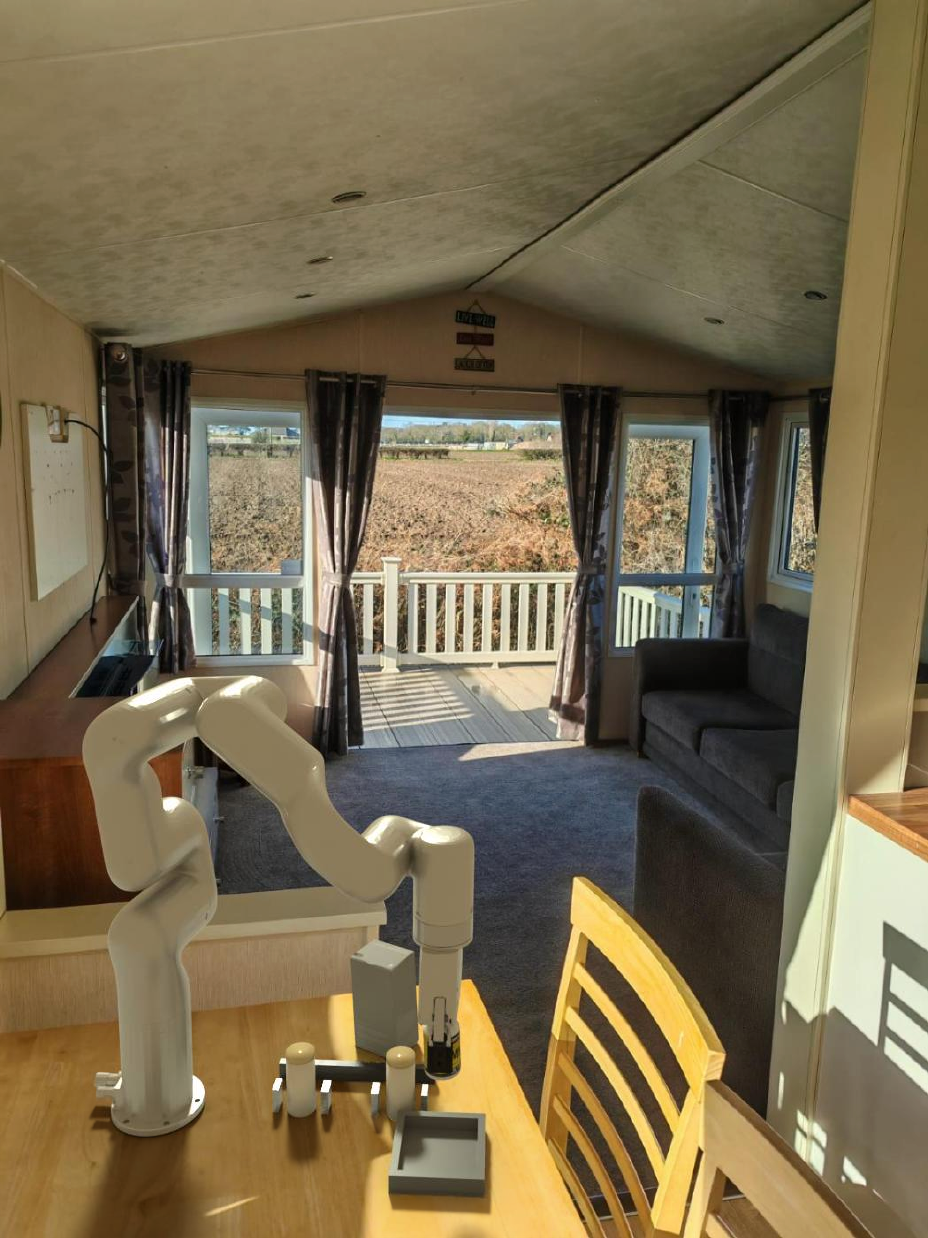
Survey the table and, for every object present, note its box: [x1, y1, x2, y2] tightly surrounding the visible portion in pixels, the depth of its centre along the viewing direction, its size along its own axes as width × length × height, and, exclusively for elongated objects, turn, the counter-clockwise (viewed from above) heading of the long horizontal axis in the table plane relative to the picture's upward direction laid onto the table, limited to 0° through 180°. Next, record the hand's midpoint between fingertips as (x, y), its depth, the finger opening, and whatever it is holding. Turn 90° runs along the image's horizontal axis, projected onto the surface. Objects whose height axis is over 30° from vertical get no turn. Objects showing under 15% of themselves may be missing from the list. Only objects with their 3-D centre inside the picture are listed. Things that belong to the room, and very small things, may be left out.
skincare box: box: [349, 938, 420, 1059], centre depth 146 cm, size 8×7×16 cm
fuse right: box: [385, 1046, 416, 1122], centre depth 132 cm, size 4×4×9 cm
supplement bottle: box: [422, 1015, 462, 1081], centre depth 121 cm, size 5×5×8 cm
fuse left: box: [285, 1041, 317, 1118], centre depth 133 cm, size 4×4×9 cm
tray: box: [387, 1110, 487, 1198], centre depth 124 cm, size 12×12×2 cm
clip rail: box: [272, 1057, 436, 1117], centre depth 136 cm, size 23×8×4 cm, turn 88°
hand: (441, 1056), depth 121 cm, fingers closed on supplement bottle, 4 cm apart
